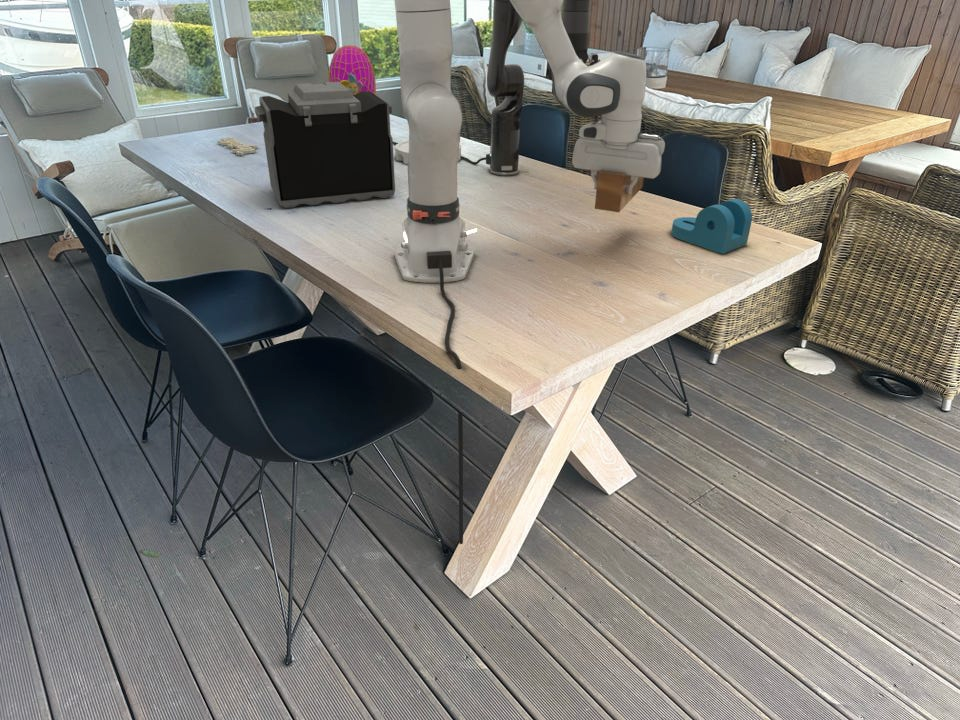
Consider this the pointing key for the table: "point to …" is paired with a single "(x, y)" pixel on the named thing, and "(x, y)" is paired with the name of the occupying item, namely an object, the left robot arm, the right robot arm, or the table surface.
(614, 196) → the box
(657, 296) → the table surface
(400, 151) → the ashtray
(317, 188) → the electronic device
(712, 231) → the camera mount
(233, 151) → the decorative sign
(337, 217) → the table surface
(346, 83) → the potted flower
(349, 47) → the decorative egg
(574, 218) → the table surface
